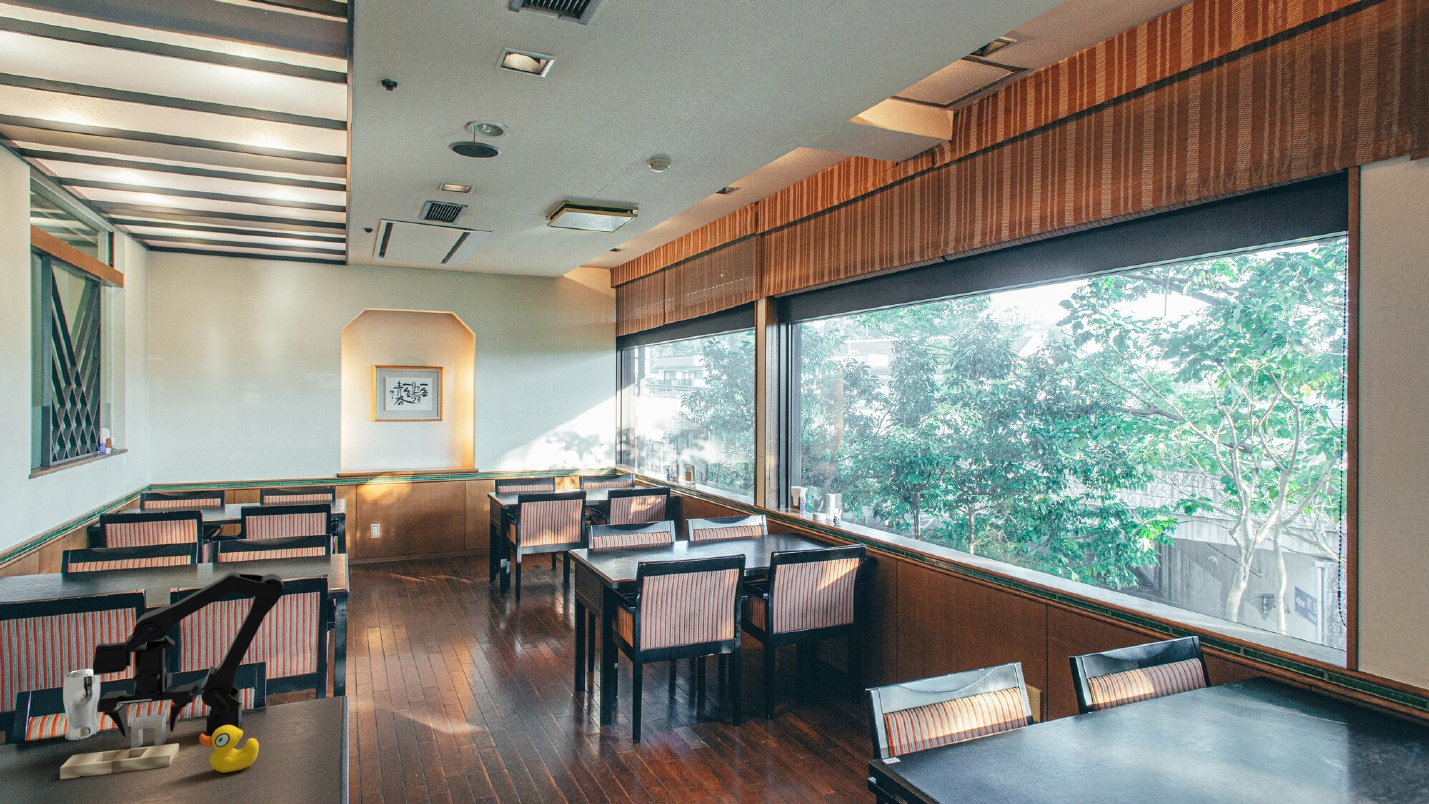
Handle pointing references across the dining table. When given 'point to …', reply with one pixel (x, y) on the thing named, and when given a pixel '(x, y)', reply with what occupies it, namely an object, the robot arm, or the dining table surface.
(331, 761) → the dining table surface
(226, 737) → the duckling
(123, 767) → the rail
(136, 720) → the clip
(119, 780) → the dining table surface
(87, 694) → the beer glass
